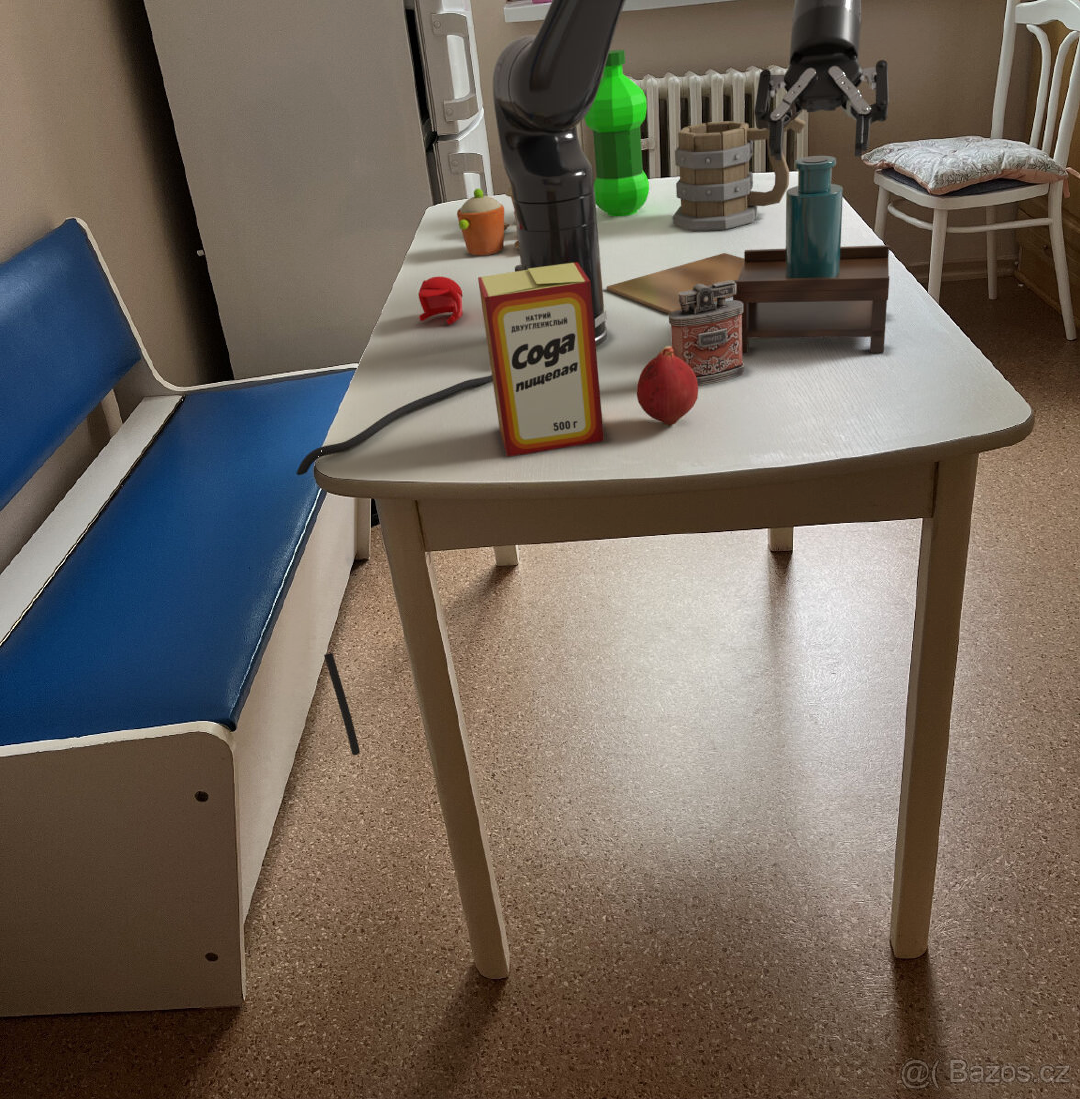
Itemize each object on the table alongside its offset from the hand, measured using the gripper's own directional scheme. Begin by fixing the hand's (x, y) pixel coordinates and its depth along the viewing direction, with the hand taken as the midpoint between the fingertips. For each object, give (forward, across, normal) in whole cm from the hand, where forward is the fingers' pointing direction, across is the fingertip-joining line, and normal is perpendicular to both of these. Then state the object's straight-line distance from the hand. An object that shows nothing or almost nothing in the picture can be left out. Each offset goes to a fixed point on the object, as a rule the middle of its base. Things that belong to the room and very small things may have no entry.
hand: (817, 154), depth 113 cm
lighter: (+27, -10, 0) cm, 28 cm away
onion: (+35, -12, -9) cm, 38 cm away
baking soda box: (+37, -23, -11) cm, 45 cm away
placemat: (+4, -16, +22) cm, 27 cm away
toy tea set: (-16, -51, +42) cm, 68 cm away
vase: (+12, 0, +3) cm, 13 cm away
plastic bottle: (-25, -34, +51) cm, 66 cm away
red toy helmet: (+13, -48, +13) cm, 51 cm away
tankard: (-19, -14, +46) cm, 51 cm away
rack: (+18, 0, +8) cm, 19 cm away
